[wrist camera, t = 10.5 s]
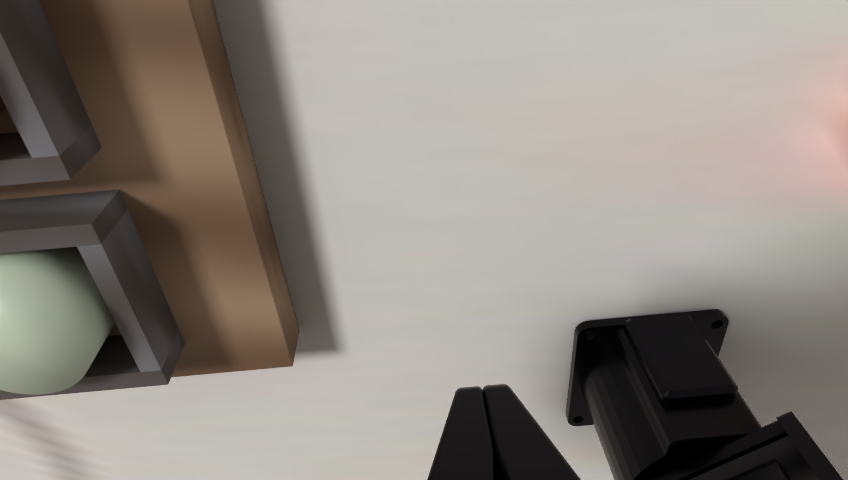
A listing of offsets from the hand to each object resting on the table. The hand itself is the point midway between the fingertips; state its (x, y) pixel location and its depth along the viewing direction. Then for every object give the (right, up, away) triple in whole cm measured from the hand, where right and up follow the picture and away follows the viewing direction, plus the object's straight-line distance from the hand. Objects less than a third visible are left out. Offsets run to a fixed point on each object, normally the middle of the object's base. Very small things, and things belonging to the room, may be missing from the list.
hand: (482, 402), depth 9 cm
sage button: (-13, +1, +10) cm, 17 cm away
